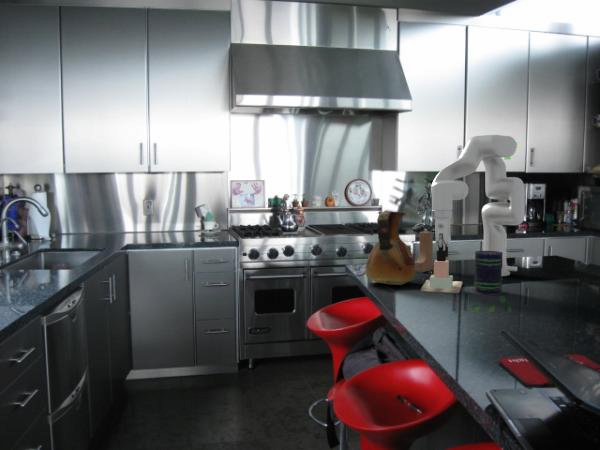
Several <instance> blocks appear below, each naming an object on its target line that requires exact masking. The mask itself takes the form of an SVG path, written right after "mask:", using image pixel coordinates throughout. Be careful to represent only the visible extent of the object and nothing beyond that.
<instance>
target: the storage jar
mask: <svg viewBox="0 0 600 450" xmlns="http://www.w3.org/2000/svg"><path fill="white" fill-rule="evenodd" d="M474 254H475V255H474V267H475V275H474V278H473V279H474V293H475V294H480V295H484V296H485V295H488V296H492V295H493V296H496V295H502V293H503V290H502V289H503V277H502V276H501V275H502V266H503V265H502V263H503V260H502V255H503V253H502V252H498V251H483V250H476V251H475V252H474Z"/></svg>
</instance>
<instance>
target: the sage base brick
mask: <svg viewBox="0 0 600 450" xmlns="http://www.w3.org/2000/svg"><path fill="white" fill-rule="evenodd" d="M429 280H430V288H443V289H452V286H453V281H454V276H453V275H449V276H448V278H437V277H434V274H431V275H430V276H429Z"/></svg>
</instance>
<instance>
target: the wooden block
mask: <svg viewBox="0 0 600 450" xmlns="http://www.w3.org/2000/svg"><path fill="white" fill-rule="evenodd" d="M433 237H434V233H433V231H429V230H428V231H426V230H425V231H420V232H419V254H418V258H417V260H414V262H415V273H420V272H422V273H427V272H430V271H431V270H432V271H434V261H433V259H434V258H433V257H434V255H433V249H434V247H433V245H434V243H433V242H434V239H433ZM426 271H427V272H426Z"/></svg>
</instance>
